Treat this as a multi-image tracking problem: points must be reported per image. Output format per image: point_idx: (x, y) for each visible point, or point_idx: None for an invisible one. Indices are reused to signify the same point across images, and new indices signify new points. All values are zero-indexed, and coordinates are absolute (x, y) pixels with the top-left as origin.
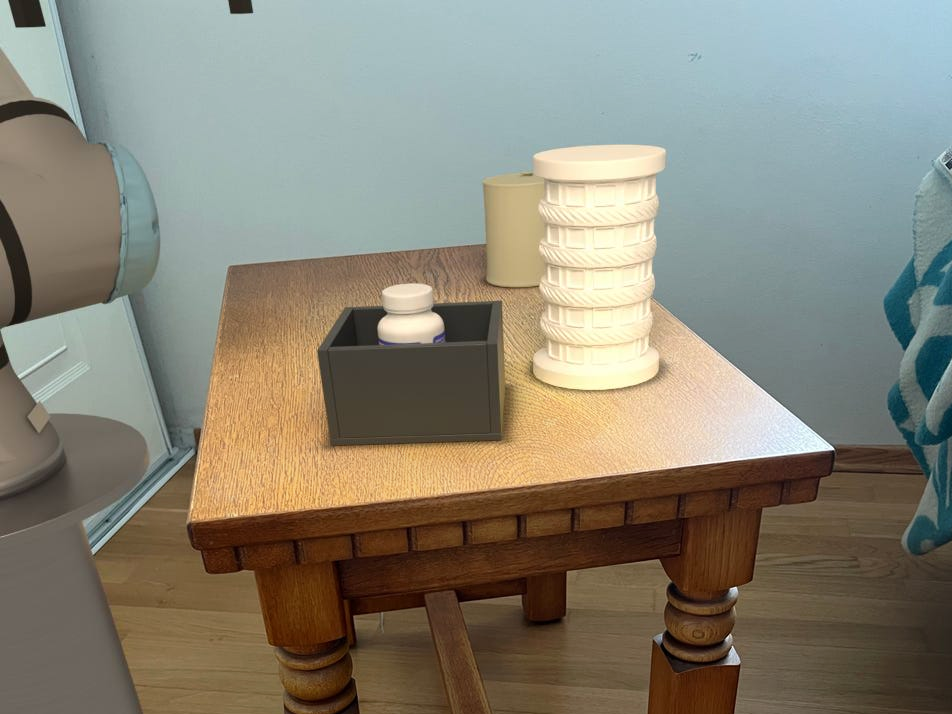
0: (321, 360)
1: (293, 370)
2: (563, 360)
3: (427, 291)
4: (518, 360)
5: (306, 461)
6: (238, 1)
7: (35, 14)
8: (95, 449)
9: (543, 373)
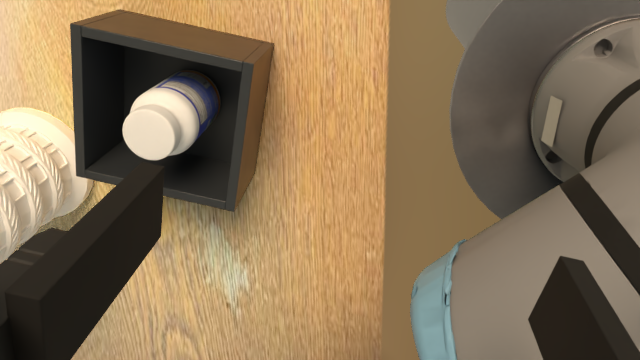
0: (253, 60)
1: (315, 252)
2: (54, 146)
3: (125, 119)
4: None
5: (296, 11)
6: (137, 170)
7: (546, 306)
8: (499, 134)
9: None
